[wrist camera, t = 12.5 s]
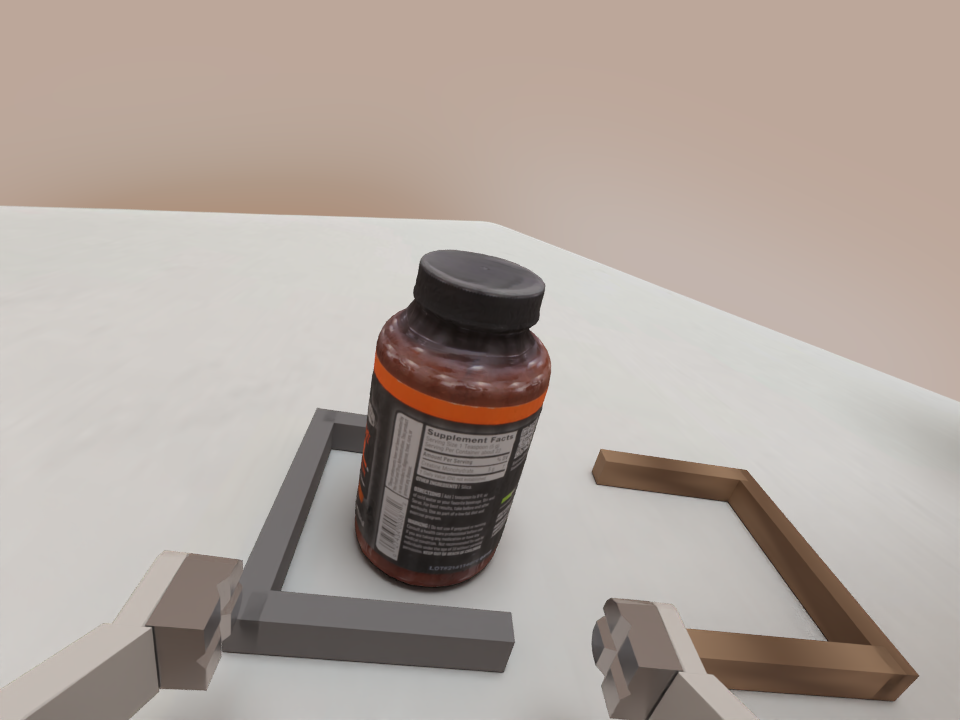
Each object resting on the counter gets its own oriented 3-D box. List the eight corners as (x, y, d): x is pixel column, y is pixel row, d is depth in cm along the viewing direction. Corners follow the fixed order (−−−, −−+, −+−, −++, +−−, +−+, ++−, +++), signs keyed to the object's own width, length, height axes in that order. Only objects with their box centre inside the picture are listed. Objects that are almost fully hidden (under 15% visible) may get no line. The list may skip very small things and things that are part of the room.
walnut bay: (735, 491, 27) (746, 470, 27) (894, 701, 18) (919, 675, 17) (591, 471, 26) (600, 449, 26) (677, 684, 16) (694, 657, 16)
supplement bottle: (371, 472, 23) (406, 228, 18) (496, 496, 23) (565, 263, 18) (331, 580, 17) (367, 271, 12) (497, 609, 17) (594, 321, 13)
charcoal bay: (482, 456, 25) (489, 432, 25) (503, 672, 16) (514, 642, 15) (315, 433, 24) (317, 407, 23) (222, 651, 14) (221, 617, 14)
